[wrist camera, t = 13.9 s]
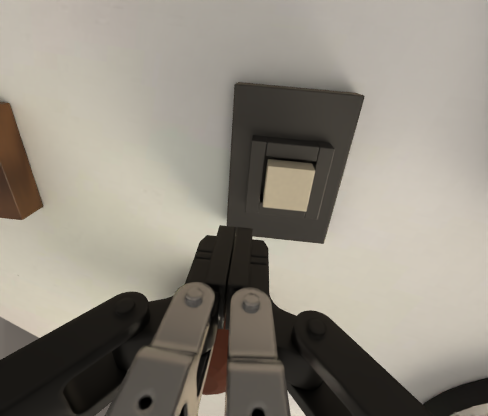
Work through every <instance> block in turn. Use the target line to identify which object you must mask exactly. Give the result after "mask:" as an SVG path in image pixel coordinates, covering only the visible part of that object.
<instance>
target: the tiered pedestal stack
mask: <svg viewBox="0 0 488 416" xmlns="http://www.w3.org/2000/svg"><path fill="white" fill-rule="evenodd" d="M363 100H364V96H363V95H360V94H357V93H351V92H340V91H329V90H318V89H307V88H297V87H286V86H275V85H264V84H253V83H242V82H237V83H236V84H235V87H234V105H233V123H232V141H231V158H230V176H229V194H228V212H227V226H231V227H236V229H237V227H242V228H253V232H252V236H256V237H265V238H274V239H284V240H293V241H302V242H312V243H321V244H324V241H325V237H326V234H327V230H328V227H329V223H330V219H331V216H332V212H333V209H334V205H335V201H336V198H337V194H338V191H339V187H340V183H341V180H342V176H343V172H344V169H345V165H346V162H347V158H348V154H349V151H350V147H351V144H352V140H353V136H354V133H355V129H356V126H357V122H358V118H359V115H360V111H361V107H362V104H363ZM268 159H275V160H285V161H295V162H305V163H312V165H313V167H314V169H315V174H314V179H313V183H312V188H311V192H310V197H309V202H308V206H307V211H306V212H305V211H296V210H286V209H276V208H267V207H263V193H264V185H265V177H266V169H267V162H268ZM235 234H236V233H235Z"/></svg>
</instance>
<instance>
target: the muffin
mask: <svg viewBox="0 0 488 416" xmlns="http://www.w3.org/2000/svg"><path fill="white" fill-rule="evenodd" d="M225 322H226V315H225ZM225 322H224V328H223V329H217V334H216V339H215V343H214V348H213V353H212V357H211V360H210V364H209V368H208V372H207V376H206V380H205V384H204V388H203V392H202V394H204V395H211V394H219V393H223V392H226V374H227V352H228V337H229V330H226V329H225Z"/></svg>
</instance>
